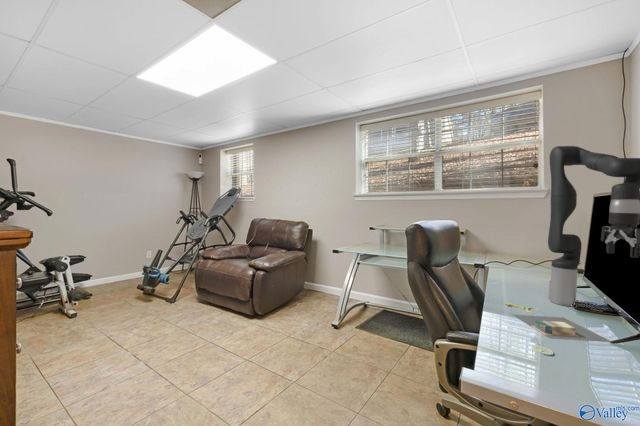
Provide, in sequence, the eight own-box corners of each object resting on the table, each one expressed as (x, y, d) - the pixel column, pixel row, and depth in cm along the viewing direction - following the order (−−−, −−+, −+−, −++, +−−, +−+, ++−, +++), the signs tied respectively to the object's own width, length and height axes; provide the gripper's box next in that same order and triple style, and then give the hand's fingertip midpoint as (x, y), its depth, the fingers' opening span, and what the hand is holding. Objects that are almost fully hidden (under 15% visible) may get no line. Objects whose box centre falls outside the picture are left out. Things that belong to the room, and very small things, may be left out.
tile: (563, 328, 99) (563, 321, 99) (575, 335, 94) (575, 328, 94) (534, 326, 100) (535, 320, 99) (544, 333, 94) (545, 326, 94)
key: (504, 305, 124) (505, 301, 124) (538, 311, 118) (538, 306, 118) (507, 311, 117) (508, 306, 117) (543, 317, 112) (543, 312, 112)
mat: (512, 315, 111) (512, 314, 111) (563, 318, 109) (563, 317, 109) (549, 339, 91) (549, 337, 91) (612, 343, 90) (612, 341, 89)
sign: (543, 336, 93) (555, 356, 80) (542, 338, 93) (555, 358, 80) (524, 332, 96) (533, 350, 83) (524, 334, 96) (533, 353, 83)
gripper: (657, 212, 92) (655, 259, 92) (615, 211, 106) (613, 252, 107) (634, 212, 93) (631, 258, 93) (595, 211, 107) (593, 251, 107)
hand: (621, 255), depth 100 cm, fingers open, 8 cm apart
